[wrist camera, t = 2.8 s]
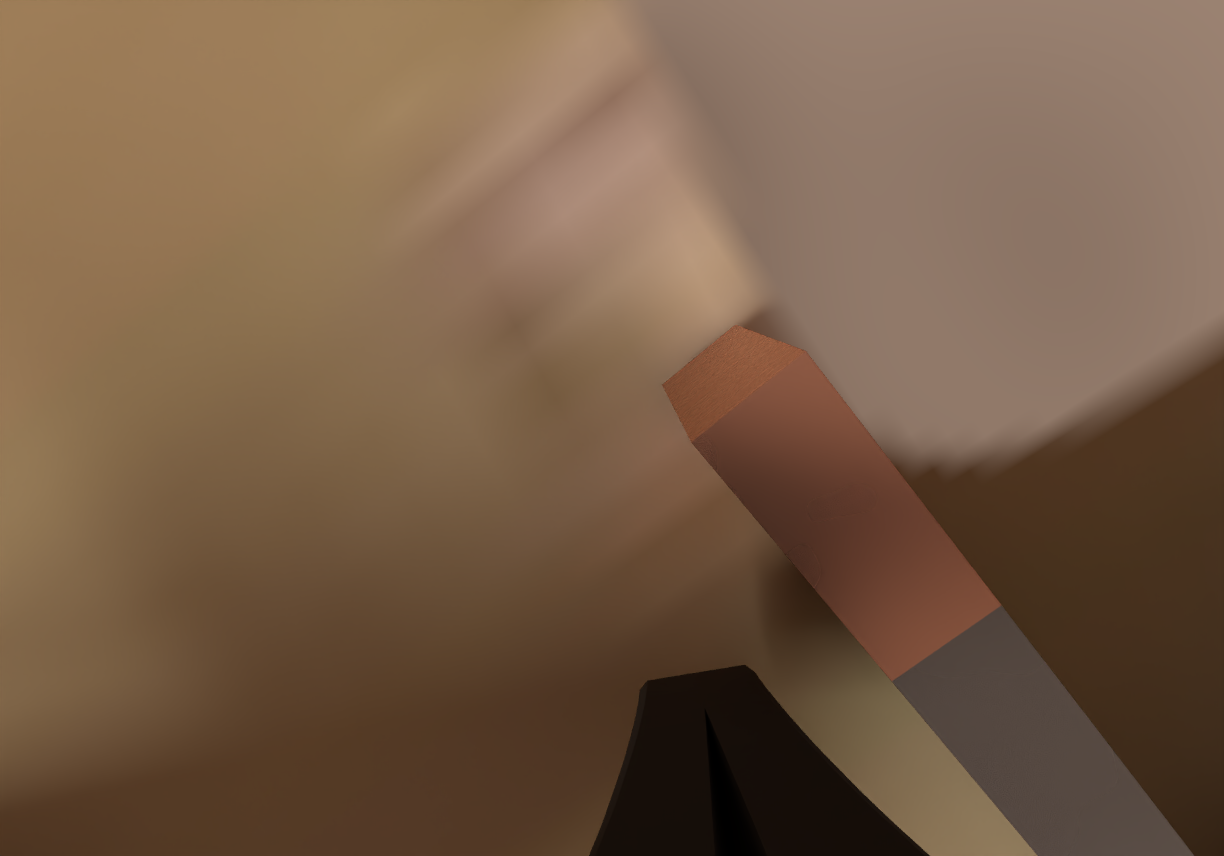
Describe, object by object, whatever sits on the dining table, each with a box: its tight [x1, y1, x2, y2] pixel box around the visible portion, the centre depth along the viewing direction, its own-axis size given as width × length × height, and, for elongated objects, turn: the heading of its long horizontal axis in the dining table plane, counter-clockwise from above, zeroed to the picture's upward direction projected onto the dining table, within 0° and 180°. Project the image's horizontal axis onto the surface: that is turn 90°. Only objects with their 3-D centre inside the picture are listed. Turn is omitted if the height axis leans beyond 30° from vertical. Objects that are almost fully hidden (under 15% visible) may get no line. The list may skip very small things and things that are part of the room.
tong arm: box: [662, 325, 1194, 856], centre depth 8 cm, size 16×3×3 cm, turn 40°
